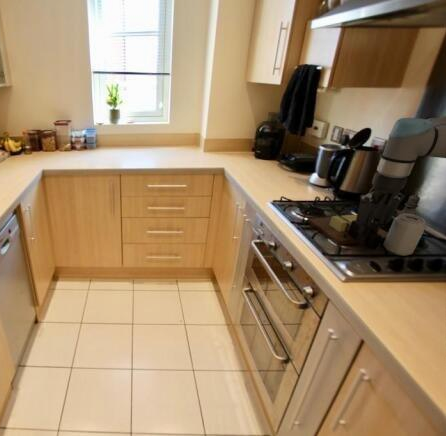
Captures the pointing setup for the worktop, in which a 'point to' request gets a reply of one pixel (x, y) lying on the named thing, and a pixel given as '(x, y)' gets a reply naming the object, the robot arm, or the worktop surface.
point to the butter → (350, 218)
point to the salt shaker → (410, 205)
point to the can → (404, 234)
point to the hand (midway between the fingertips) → (363, 242)
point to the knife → (353, 231)
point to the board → (335, 235)
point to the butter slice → (338, 223)
